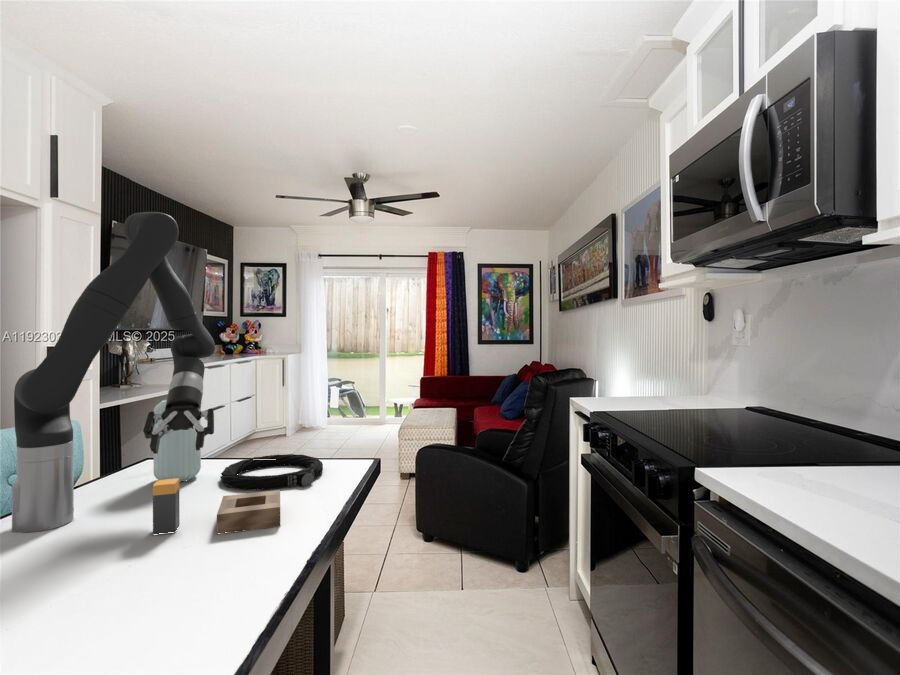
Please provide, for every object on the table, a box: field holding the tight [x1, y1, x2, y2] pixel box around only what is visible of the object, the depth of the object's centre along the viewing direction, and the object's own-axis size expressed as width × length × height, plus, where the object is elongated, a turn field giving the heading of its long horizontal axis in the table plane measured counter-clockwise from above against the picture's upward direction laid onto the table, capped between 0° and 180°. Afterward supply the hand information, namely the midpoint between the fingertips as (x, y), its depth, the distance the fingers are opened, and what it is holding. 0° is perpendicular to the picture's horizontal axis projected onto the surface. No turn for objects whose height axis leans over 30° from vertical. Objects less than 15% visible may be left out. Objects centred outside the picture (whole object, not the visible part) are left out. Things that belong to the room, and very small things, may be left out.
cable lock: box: [220, 453, 324, 491], centre depth 136 cm, size 28×4×30 cm
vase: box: [153, 399, 202, 483], centre depth 133 cm, size 12×12×22 cm
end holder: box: [216, 489, 281, 534], centre depth 103 cm, size 12×12×4 cm
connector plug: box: [152, 478, 181, 535], centre depth 98 cm, size 4×4×10 cm
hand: (176, 450), depth 107 cm, fingers open, 8 cm apart
